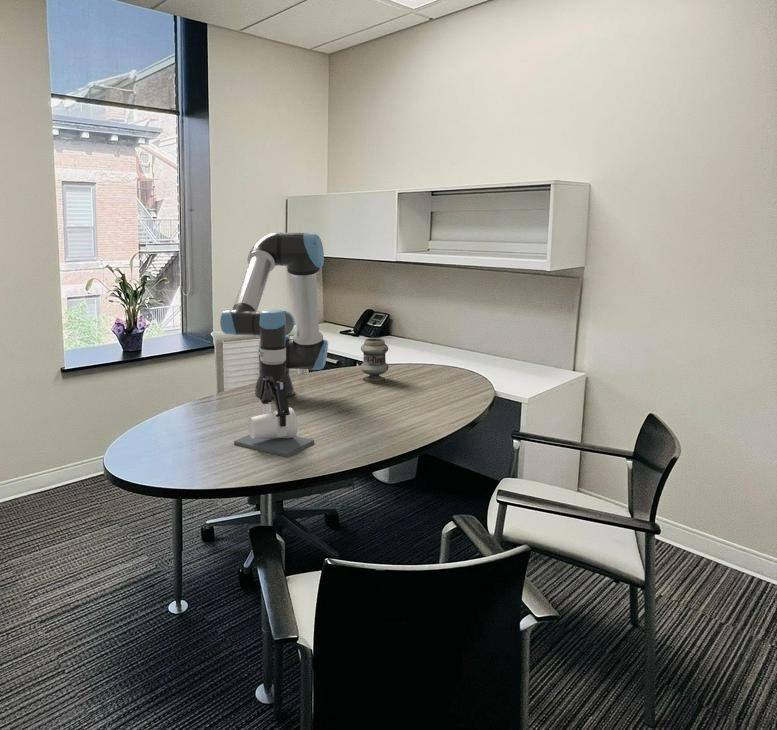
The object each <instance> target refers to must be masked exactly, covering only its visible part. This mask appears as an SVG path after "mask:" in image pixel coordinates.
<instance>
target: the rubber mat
mask: <svg viewBox="0 0 777 730" xmlns="http://www.w3.org/2000/svg"><path fill="white" fill-rule="evenodd" d="M313 444H315V439H310V438H306V437H302V436H297V435H296V436H295V437H294V438H288V439H287V438H266V439H253V438H251V436H250V434H247V435H245V436H243V437H241V438H238V439H236V440H234V441H233V445H235V446H241V447H244V448H248V449H253V450H257V451H261V452H264V453H269V454H273V455H276V456H280V457H285V458H287V457H290V456H291V455H293V454H296V453H298V452H299V451H302V450H303V449H306V448H307V447H309V446H312V445H313Z"/></svg>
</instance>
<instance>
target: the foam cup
mask: <svg viewBox="0 0 777 730" xmlns="http://www.w3.org/2000/svg"><path fill="white" fill-rule="evenodd" d="M283 412H284V411H283ZM289 413H290V414H289V415H286V434H287V436H282V437H277V417H276V415H277V414H278V412H277V410H275V411H271V412H270V413H266V414H263V415H262V414H259V415H255V416H252V417H250V418H248V420H247V421H248V423H247V428H248V433H249V435H250V436H251V438H253V439H266V438H287V439H288V438H294V437H295V436H297V433H298V425H299V423H298V418H297V414H296V412H295V411H294V409H293V408H292V407H289Z"/></svg>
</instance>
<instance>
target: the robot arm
mask: <svg viewBox="0 0 777 730" xmlns="http://www.w3.org/2000/svg"><path fill="white" fill-rule="evenodd" d="M324 255H325V252H324V246H323V243H322V239H321V238H320V236H319V235H318V234H316V233H308V232H272V233H269V234H266V235H265V236H263V237H262V238H261V239H259V240H258V241H257V242H256V243H255V244H254V245H253V246H252V248H251V249H250V251H249V253H248V256H247V259H246V260H247V264H248V265H247V268H246V270H245V272H244V276H243V278H242V281H241V285H240V287H239V290H238V293H237V295H236V299H235V300H234V303H233V306H232V309H229V310H228V309H227V310H224V311H222V312H221V315H220V321H219V322H220V323H219V324H220V329H221V332H222V333H224V334H225V335H233V336H259V341H258V369H259V371H258V372H259V374H258V377H257V378H258V379H257V381H256V385H255V387H254V395H255V396H257V397H258V398H259V400H260V402H261V413H262V414H261V415H263V414H266V413H270V412H272V402H273V401H272V399H273V400H274V403H275V408H276V411H277V412H278V414H277V415H276V417H277V437H282V436H287V434H286V415H289V414H290V413H289V408H290V407H289V402H288V397H292V396H294V394H295V388H294V385H293V382H292V379H291V376H290V369H291V370H311V371H314V370H315V371H316V370H323V369H324V367H325V366H326V362H327V355H328V349H329V348H328V347H329V341H328V340H327V339H324V335H323V333H322V332H320V328H319V327H320V325H319V309H318V308H319V307H318V288H317V275H318V273H319V272H320V270H321V268H322V267H323V266H324V262H325V256H324ZM277 266H281V267H286V269H287V273H288V274H289V275H290V276H291V279H292V291H293V304H294V305H293V306H294V316H293V315H292V314H291V312H289V311H286V310H282V309H273V308H272V309H263V310H262V311H258V309H259V306H260V303H261V300H262V297H263V294H264V291H265V287H266V284H267V281H268V279H269V275H270V273H271V272H272V271H274V269H275V267H277ZM294 317H295V318H294ZM294 328H295V332H296V333H294V335H292V338H290V336H289V334H290V333H291V332H292V331H293V329H294ZM283 411H284V412H283Z"/></svg>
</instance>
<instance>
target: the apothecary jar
mask: <svg viewBox="0 0 777 730" xmlns="http://www.w3.org/2000/svg"><path fill="white" fill-rule="evenodd" d="M360 350H361V352H362V353H363V360H362V361H363V362H362V363H361V365H360V370H361V372H363V373H364V374H366V375H367V376H364V377H363V378H362V380H363V381H364V382H366V383H372V384H380V383H384V382H386V377H383V376H381V375H384V374H385V373H387V372H388V370H389V365H388V363H387V362H386V353H387V352H388V351H389V346H388V345H387V344H386V343H385V339H384V338H382V337H368V338H365V339H364V342H363V344H362V345H361V346H360Z"/></svg>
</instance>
